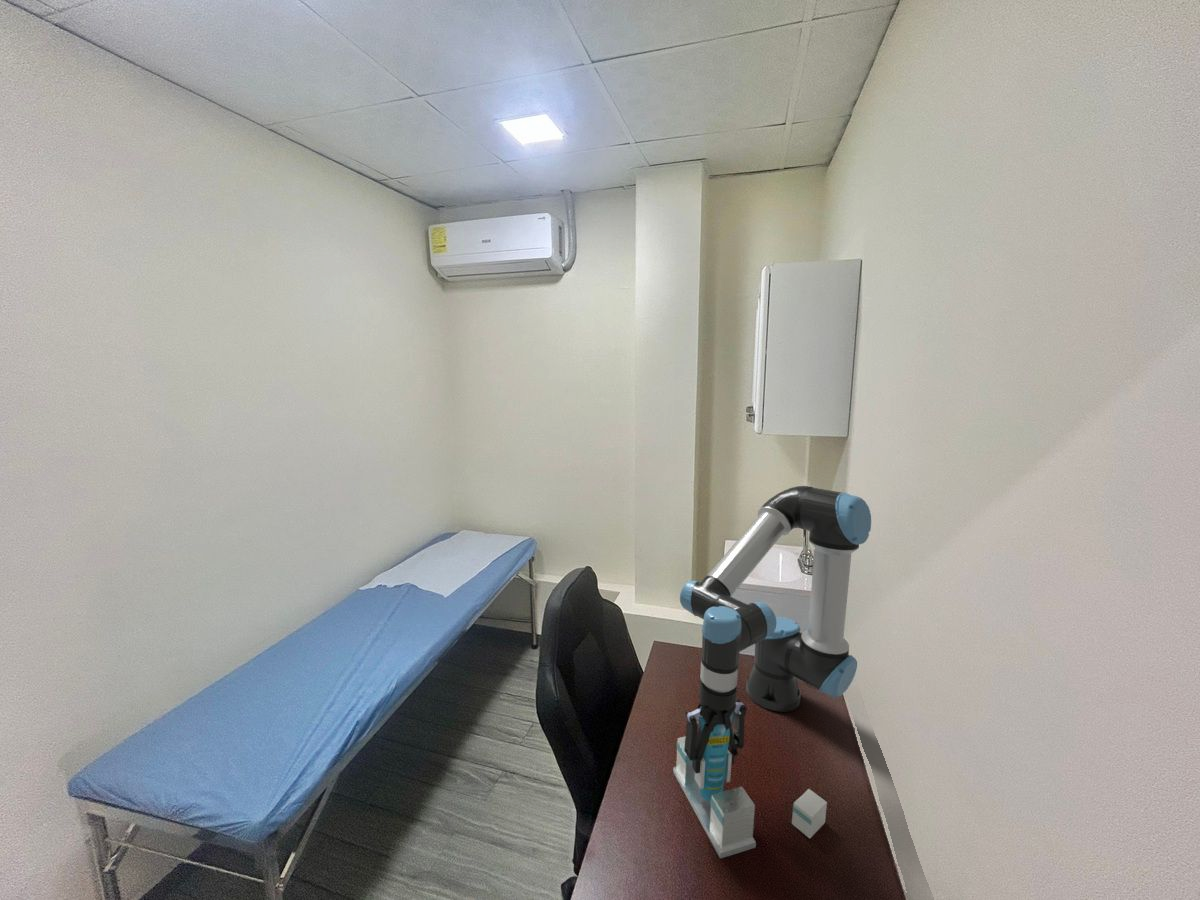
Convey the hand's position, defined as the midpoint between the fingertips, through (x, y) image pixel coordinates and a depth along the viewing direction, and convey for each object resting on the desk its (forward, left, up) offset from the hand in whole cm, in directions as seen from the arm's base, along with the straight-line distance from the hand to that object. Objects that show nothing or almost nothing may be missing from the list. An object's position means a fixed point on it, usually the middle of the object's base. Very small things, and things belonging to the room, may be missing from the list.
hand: (712, 780), depth 100 cm
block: (-18, +9, -7) cm, 21 cm away
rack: (0, 0, -6) cm, 6 cm away
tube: (0, 0, -4) cm, 4 cm away
